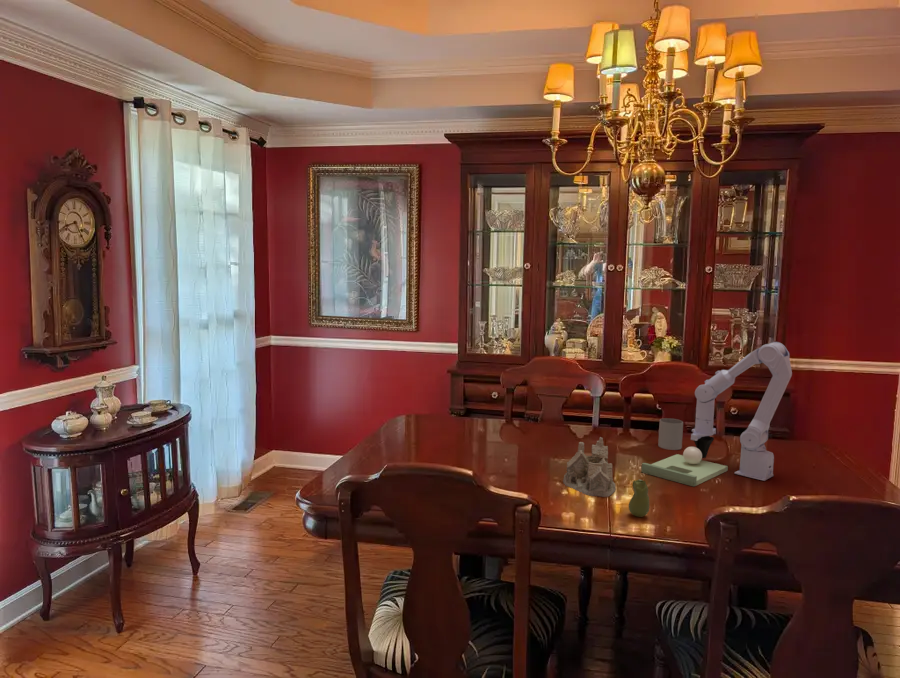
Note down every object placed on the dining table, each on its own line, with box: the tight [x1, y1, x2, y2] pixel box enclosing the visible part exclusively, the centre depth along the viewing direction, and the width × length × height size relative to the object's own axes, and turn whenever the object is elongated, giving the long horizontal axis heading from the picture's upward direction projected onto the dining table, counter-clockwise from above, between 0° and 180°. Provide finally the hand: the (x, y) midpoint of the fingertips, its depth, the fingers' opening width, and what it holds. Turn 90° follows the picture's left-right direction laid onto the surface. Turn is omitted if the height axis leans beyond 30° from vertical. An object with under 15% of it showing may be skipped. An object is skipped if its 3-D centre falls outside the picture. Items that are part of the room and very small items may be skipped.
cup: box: [657, 417, 684, 451], centre depth 236 cm, size 8×8×10 cm
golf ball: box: [682, 446, 703, 465], centre depth 210 cm, size 6×6×6 cm
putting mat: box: [640, 453, 729, 488], centre depth 207 cm, size 18×24×3 cm
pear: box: [628, 479, 650, 518], centre depth 169 cm, size 6×5×10 cm
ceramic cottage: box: [562, 436, 616, 498], centre depth 191 cm, size 16×16×15 cm
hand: (702, 457), depth 216 cm, fingers closed
